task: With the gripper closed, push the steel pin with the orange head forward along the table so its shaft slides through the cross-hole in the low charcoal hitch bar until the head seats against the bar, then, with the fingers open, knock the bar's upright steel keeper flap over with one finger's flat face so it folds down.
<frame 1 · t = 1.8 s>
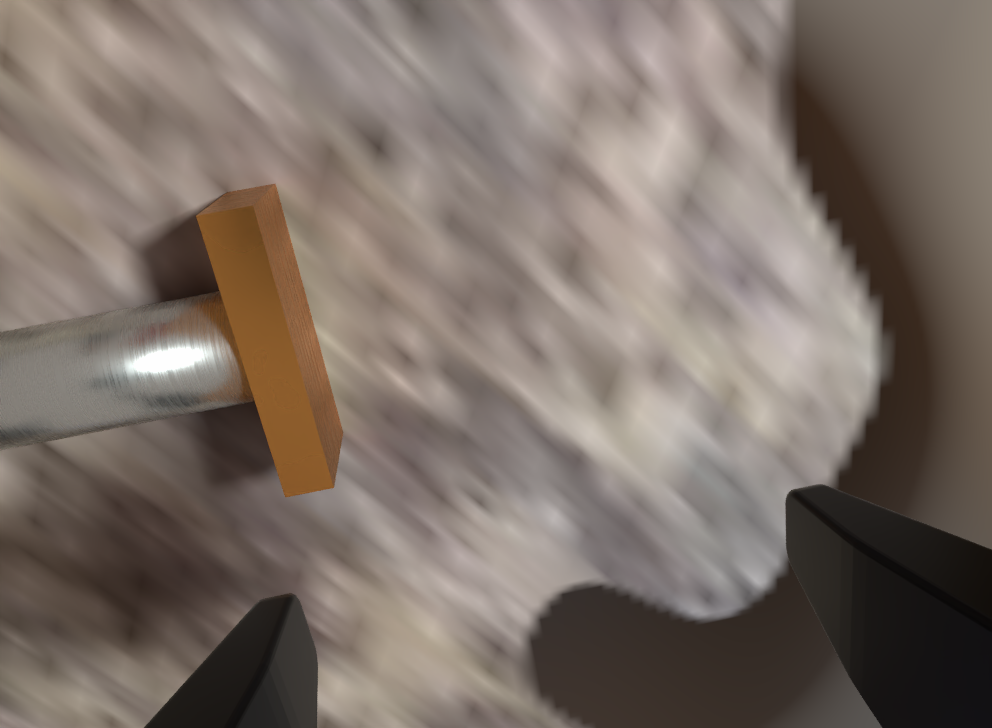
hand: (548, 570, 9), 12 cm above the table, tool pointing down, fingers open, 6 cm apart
pin: (289, 320, 20), on the table
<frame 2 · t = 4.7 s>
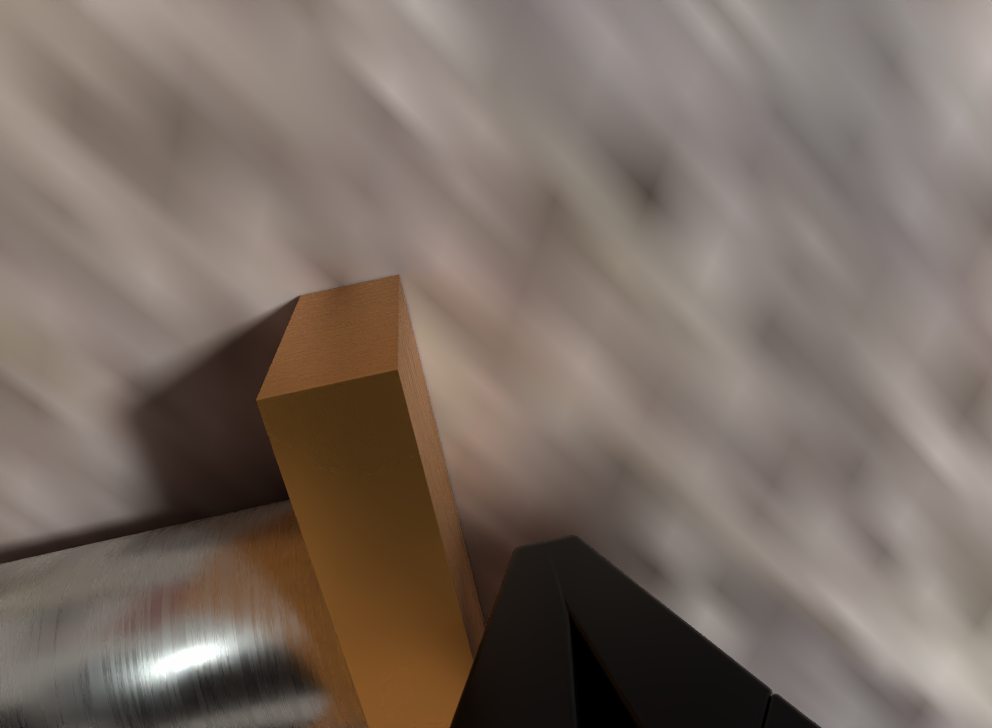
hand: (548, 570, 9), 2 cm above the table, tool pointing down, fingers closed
pin: (415, 525, 10), on the table, touching gripper
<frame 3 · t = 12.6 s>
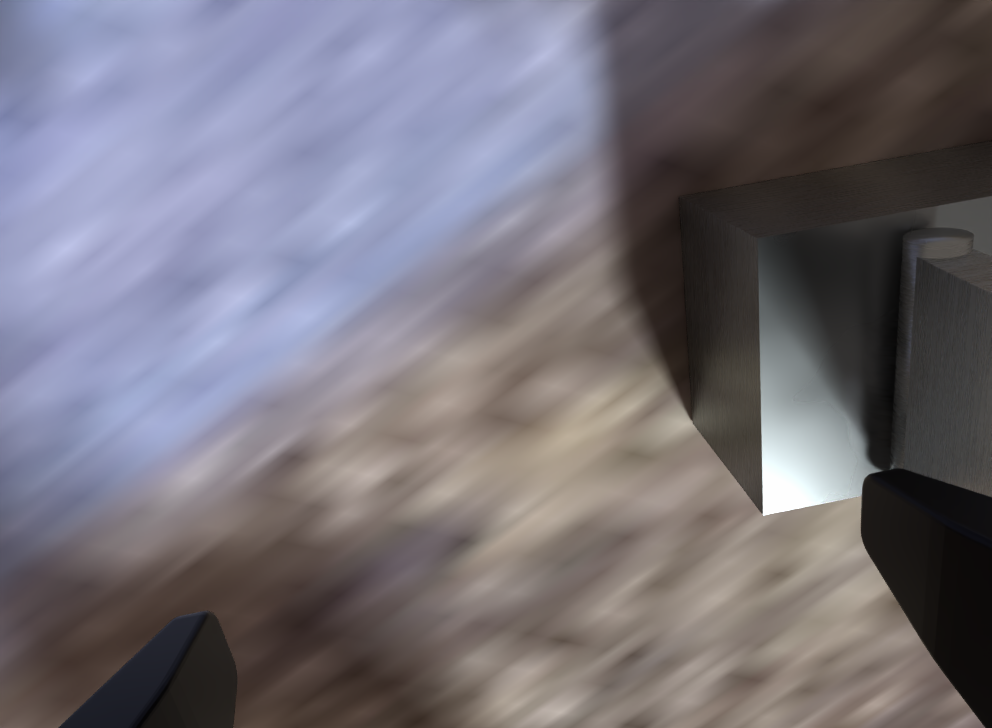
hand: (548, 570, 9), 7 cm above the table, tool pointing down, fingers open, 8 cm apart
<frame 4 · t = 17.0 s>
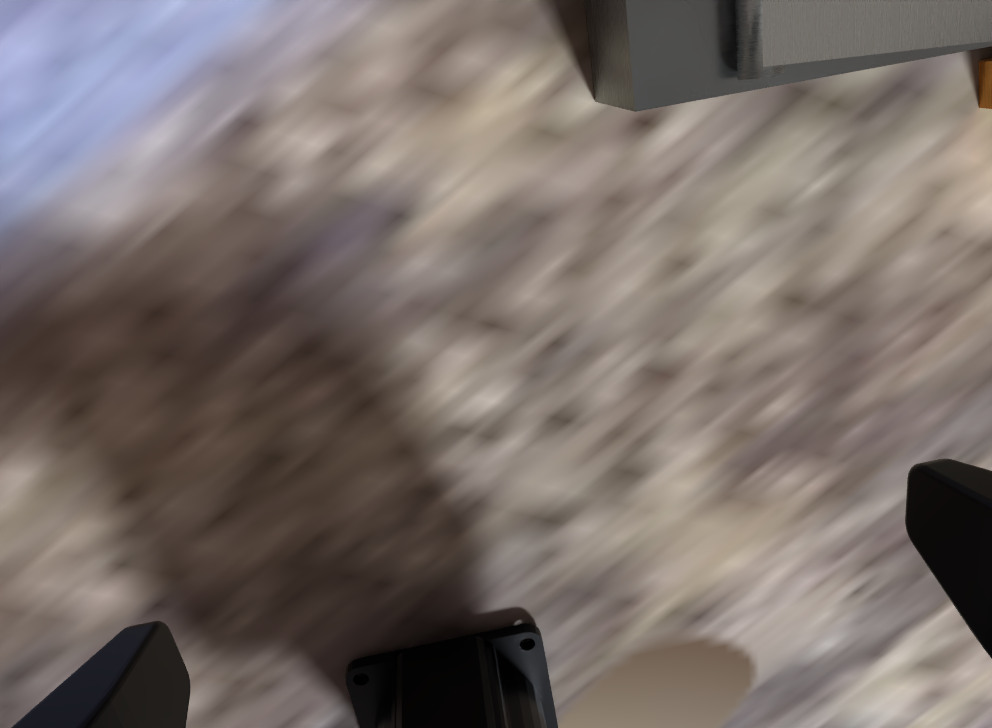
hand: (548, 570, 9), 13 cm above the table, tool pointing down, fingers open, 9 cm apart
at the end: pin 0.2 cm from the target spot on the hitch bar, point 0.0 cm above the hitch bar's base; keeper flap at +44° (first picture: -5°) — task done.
